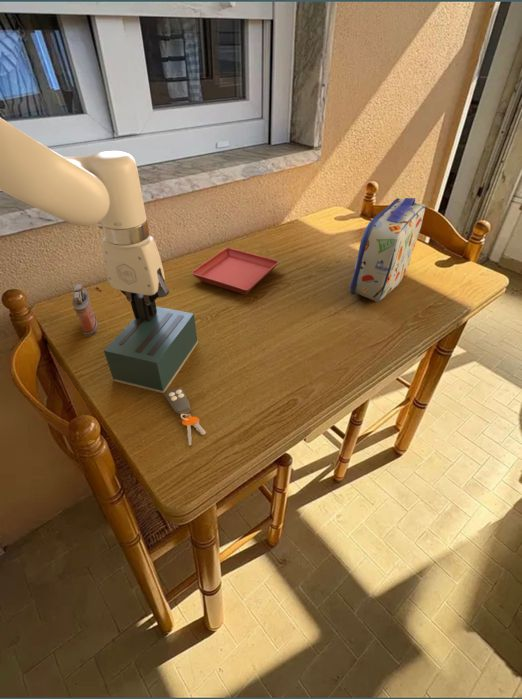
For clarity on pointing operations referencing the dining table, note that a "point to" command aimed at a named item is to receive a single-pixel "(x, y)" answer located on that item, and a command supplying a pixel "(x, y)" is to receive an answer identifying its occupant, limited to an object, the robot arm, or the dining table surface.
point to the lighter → (84, 311)
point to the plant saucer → (235, 270)
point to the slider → (140, 305)
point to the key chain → (183, 410)
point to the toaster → (152, 349)
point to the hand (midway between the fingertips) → (145, 315)
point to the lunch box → (387, 249)
